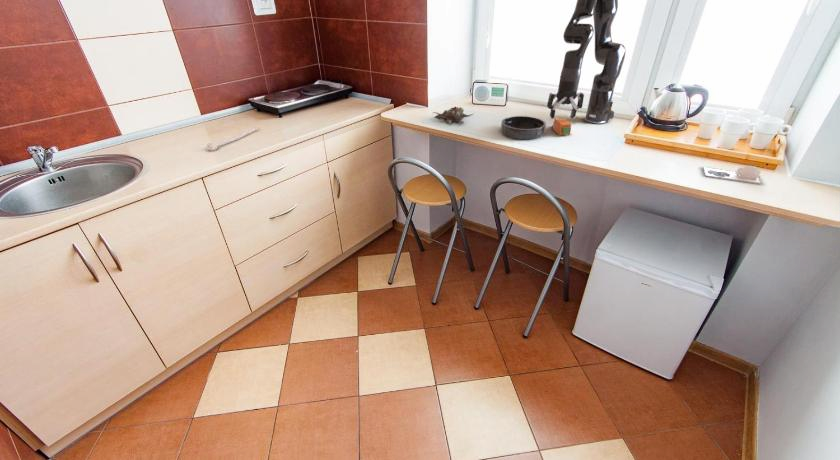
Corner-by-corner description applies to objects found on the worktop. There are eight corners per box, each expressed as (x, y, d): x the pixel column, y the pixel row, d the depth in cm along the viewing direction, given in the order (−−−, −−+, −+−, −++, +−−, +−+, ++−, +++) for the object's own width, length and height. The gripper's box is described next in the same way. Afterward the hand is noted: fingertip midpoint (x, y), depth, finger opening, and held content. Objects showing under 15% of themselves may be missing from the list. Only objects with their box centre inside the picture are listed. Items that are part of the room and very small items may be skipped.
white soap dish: (755, 176, 129) (762, 163, 127) (760, 184, 124) (766, 171, 122) (703, 168, 135) (708, 156, 133) (705, 176, 130) (710, 163, 128)
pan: (536, 125, 178) (538, 115, 175) (550, 139, 162) (551, 128, 160) (496, 126, 177) (497, 116, 175) (506, 141, 162) (507, 130, 159)
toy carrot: (550, 126, 175) (552, 116, 173) (560, 126, 175) (562, 116, 173) (560, 136, 165) (562, 125, 162) (570, 136, 165) (573, 125, 162)
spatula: (253, 129, 182) (251, 123, 181) (260, 130, 181) (258, 124, 179) (205, 150, 161) (203, 143, 159) (212, 151, 159) (210, 144, 158)
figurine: (430, 113, 178) (433, 104, 192) (431, 126, 181) (433, 116, 196) (474, 111, 176) (473, 101, 190) (474, 124, 179) (473, 113, 193)
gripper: (555, 81, 154) (548, 121, 163) (590, 80, 155) (581, 120, 163) (549, 77, 161) (543, 116, 169) (583, 76, 161) (575, 115, 170)
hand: (562, 118), depth 166 cm, fingers open, 8 cm apart
